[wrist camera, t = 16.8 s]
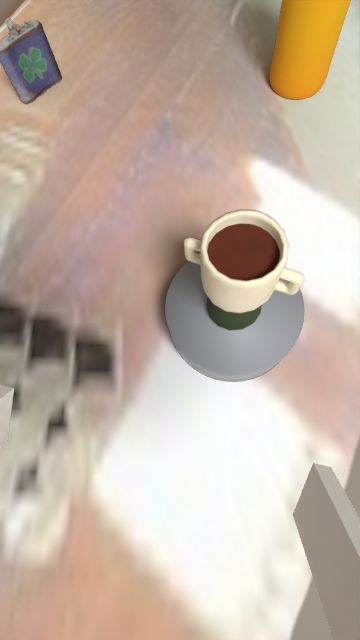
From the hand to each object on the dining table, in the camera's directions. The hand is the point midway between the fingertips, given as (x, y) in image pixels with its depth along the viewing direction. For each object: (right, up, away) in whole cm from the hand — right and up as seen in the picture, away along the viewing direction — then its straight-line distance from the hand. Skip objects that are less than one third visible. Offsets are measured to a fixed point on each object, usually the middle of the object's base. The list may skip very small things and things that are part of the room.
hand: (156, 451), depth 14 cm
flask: (-25, +48, +48) cm, 72 cm away
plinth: (+8, +6, +29) cm, 31 cm away
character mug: (+7, +7, +25) cm, 27 cm away
